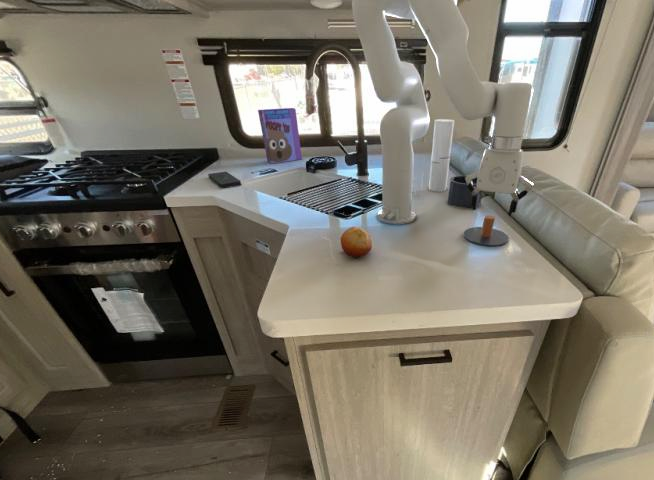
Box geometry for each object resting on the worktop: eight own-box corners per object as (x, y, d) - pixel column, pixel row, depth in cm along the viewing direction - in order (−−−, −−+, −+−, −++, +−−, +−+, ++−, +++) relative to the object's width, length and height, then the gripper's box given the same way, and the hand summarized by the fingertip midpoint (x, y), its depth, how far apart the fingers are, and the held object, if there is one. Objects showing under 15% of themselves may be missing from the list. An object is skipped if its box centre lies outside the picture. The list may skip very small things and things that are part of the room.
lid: (502, 252, 87) (508, 229, 83) (457, 242, 92) (460, 220, 88) (511, 235, 96) (517, 214, 92) (470, 227, 101) (473, 206, 97)
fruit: (350, 238, 90) (360, 218, 84) (369, 258, 89) (380, 240, 82) (329, 248, 85) (338, 227, 78) (348, 270, 83) (359, 250, 77)
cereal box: (271, 164, 166) (261, 110, 152) (267, 162, 169) (257, 109, 155) (301, 159, 176) (295, 108, 162) (297, 157, 179) (290, 107, 165)
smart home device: (226, 170, 147) (241, 180, 134) (227, 174, 148) (242, 184, 135) (206, 173, 143) (220, 184, 130) (208, 177, 144) (221, 188, 131)
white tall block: (447, 191, 130) (455, 121, 116) (429, 191, 131) (435, 121, 116) (444, 186, 136) (452, 119, 122) (427, 186, 136) (433, 119, 122)
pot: (474, 211, 113) (479, 186, 108) (443, 205, 117) (445, 181, 112) (483, 201, 121) (487, 178, 116) (453, 196, 125) (456, 174, 120)
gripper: (466, 143, 80) (457, 210, 90) (541, 148, 73) (523, 221, 83) (474, 138, 85) (465, 203, 95) (545, 143, 78) (527, 212, 88)
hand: (492, 211), depth 89 cm, fingers open, 9 cm apart
